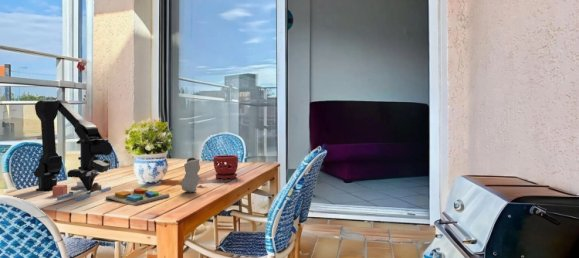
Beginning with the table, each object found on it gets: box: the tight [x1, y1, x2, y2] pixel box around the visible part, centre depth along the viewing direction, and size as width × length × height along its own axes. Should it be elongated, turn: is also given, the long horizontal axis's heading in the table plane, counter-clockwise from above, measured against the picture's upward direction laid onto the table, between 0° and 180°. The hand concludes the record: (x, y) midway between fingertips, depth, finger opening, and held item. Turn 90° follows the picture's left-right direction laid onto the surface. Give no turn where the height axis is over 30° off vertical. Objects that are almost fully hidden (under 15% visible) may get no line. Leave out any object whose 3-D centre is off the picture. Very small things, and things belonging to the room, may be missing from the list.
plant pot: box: [213, 154, 239, 180], centre depth 203 cm, size 13×13×12 cm
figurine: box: [180, 157, 201, 193], centre depth 167 cm, size 9×10×15 cm
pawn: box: [89, 182, 102, 193], centre depth 166 cm, size 4×4×4 cm
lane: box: [56, 186, 112, 202], centre depth 159 cm, size 10×21×2 cm, turn 172°
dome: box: [76, 180, 94, 187], centre depth 172 cm, size 6×6×2 cm
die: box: [52, 184, 68, 197], centre depth 158 cm, size 4×4×4 cm
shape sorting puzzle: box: [105, 187, 171, 206], centre depth 154 cm, size 18×19×4 cm
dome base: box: [70, 185, 85, 191], centre depth 173 cm, size 8×8×1 cm
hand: (88, 190), depth 161 cm, fingers closed
